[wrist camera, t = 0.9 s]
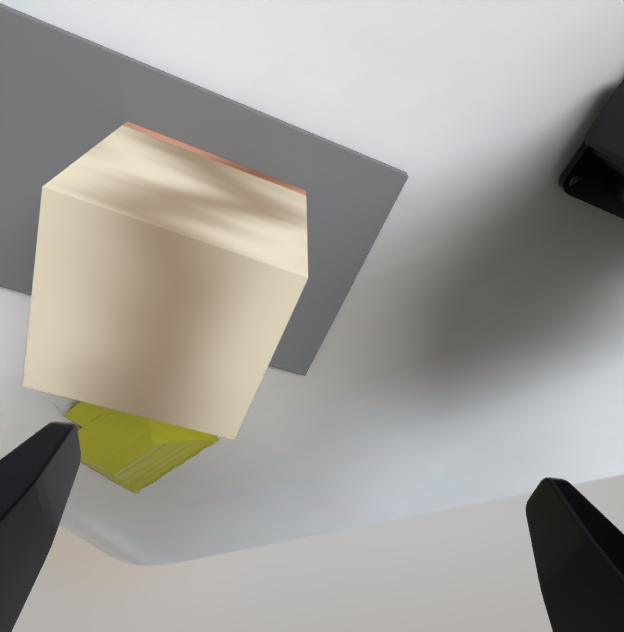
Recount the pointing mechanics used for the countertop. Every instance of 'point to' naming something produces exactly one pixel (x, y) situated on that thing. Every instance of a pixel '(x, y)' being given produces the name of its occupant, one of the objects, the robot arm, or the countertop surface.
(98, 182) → the birch cube
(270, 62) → the countertop surface
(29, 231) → the charcoal mat
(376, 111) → the countertop surface
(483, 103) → the countertop surface
